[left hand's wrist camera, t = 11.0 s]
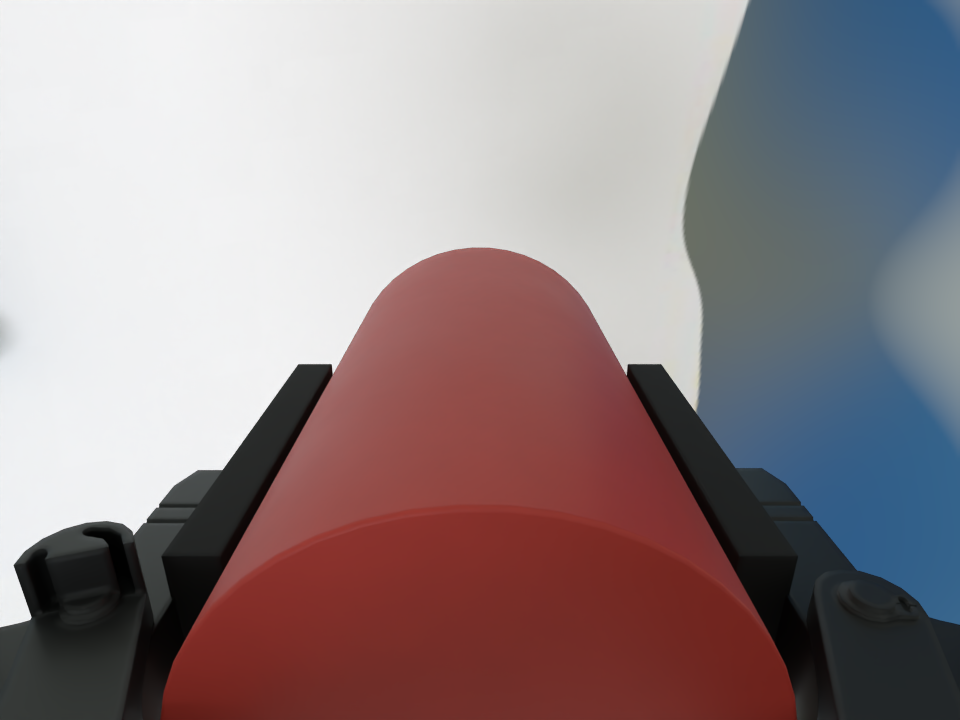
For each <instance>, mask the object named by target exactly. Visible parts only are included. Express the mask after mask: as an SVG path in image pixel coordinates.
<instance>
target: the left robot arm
mask: <svg viewBox="0 0 960 720" xmlns="http://www.w3.org/2000/svg"><path fill="white" fill-rule="evenodd" d="M332 376H333V373H332V364H298V366H297V367H296V368H295V370H294V371H293V373H292V374H291V375H290V377H289V378H288V380H287V381H286V382H285V384H284V385H283V387H282V388H281V389H280V391H279V392H278V394H277V395H276V396H275V398H274V399H273V401H272V402H271V403H270V405H269V406H268V408H267V409H266V410H265V412H264V413H263V415H262V416H261V417H260V419H259V420H258V422H257V423H256V424H255V426H254V427H253V429H252V430H251V431H250V433H249V434H248V436H247V437H246V438H245V440H244V441H243V443H242V444H241V445H240V447H239V448H238V450H237V451H236V452H235V454H234V455H233V457H232V458H231V459H230V461H229V462H228V463H227V465H226V466H225V468H224V469H223V470H198V471H196V472H195V473H193V474H192V475H190V476H189V477H187V478H186V479H184V480H182V481H181V482H179V483H178V484H176V485H175V486H174V487H173V488H172V489H171V490H170V492H169V493H168V494H167V495H166V497H165V498H164V499H163V500H162V501H161V503H160V504H159V508H156V509H155V510H154V511H153V513H152V514H151V515H150V516H149V517H148V519H147V523H144V524H143V525H142V526H141V527H140V528H139V530H138V531H137V532H136V533H135V535H134V536H133V532H132V531H131V530H130V529H129V528H127V527H126V526H125V525H123V524H120V523H114V522H109V521H103V522H91V523H84V524H81V525H77V526H73V527H70V528H66V529H63V530H61V531H59V532H57V533H54V534H52V535H50V536H48V537H46V538H43V539H42V540H40V541H39V542H37V543H36V544H35V545H33V546H32V547H30V548H29V549H28V550H26V551H25V552H24V553H23V554H22V556H21V557H20V558H19V559H18V560H17V562H16V563H15V564H14V568H15V571H16V573H17V576H18V579H19V582H20V585H21V588H22V591H23V594H24V596H25V599H26V602H27V605H28V608H29V611H30V614H31V617H32V618H31V620H29V621H26V622H22V623H18V624H14V625H9V626H5V627H0V720H160V718H161V710H162V701H163V693H164V689H165V686H166V683H167V680H168V677H169V674H170V671H171V667H172V664H173V661H174V660H175V658H176V656H177V654H178V652H179V650H180V649H181V647H182V645H183V643H184V641H185V639H186V637H187V636H188V634H189V632H190V630H191V628H192V627H193V625H194V623H195V621H196V619H197V618H198V616H199V614H200V612H201V610H202V609H203V607H204V605H205V603H206V601H207V600H208V598H209V596H210V594H211V593H212V591H213V589H214V587H215V585H216V584H217V582H218V580H219V578H220V576H221V575H222V573H223V571H224V569H225V567H226V566H227V564H228V562H229V560H230V558H231V557H232V555H233V553H234V551H235V550H236V548H237V546H238V544H239V542H240V541H241V539H242V537H243V535H244V533H245V532H246V530H247V528H248V526H249V524H250V523H251V521H252V519H253V517H254V515H255V514H256V512H257V510H258V508H259V507H260V505H261V503H262V501H263V499H264V498H265V496H266V494H267V492H268V490H269V489H270V487H271V485H272V483H273V481H274V480H275V478H276V476H277V474H278V472H279V471H280V469H281V467H282V465H283V463H284V462H285V460H286V458H287V456H288V455H289V453H290V451H291V449H292V447H293V446H294V444H295V442H296V440H297V438H298V437H299V435H300V433H301V431H302V429H303V428H304V426H305V424H306V422H307V420H308V419H309V417H310V415H311V413H312V412H313V410H314V408H315V406H316V404H317V403H318V401H319V399H320V397H321V395H322V394H323V392H324V390H325V388H326V386H327V385H328V383H329V381H330V379H331V377H332ZM627 378H628V379H629V381H630V383H631V385H632V387H633V388H634V390H635V392H636V394H637V396H638V398H639V399H640V401H641V403H642V405H643V407H644V408H645V410H646V412H647V414H648V416H649V417H650V419H651V421H652V423H653V425H654V426H655V428H656V430H657V432H658V434H659V435H660V437H661V439H662V441H663V443H664V444H665V446H666V448H667V450H668V452H669V453H670V455H671V457H672V459H673V461H674V462H675V464H676V466H677V468H678V470H679V472H680V473H681V475H682V477H683V479H684V481H685V482H686V484H687V486H688V488H689V490H690V491H691V493H692V495H693V497H694V499H695V500H696V502H697V504H698V506H699V508H700V509H701V511H702V513H703V515H704V517H705V518H706V520H707V522H708V524H709V526H710V527H711V529H712V531H713V533H714V535H715V536H716V538H717V540H718V542H719V544H720V546H721V547H722V549H723V551H724V553H725V555H726V556H727V558H728V560H729V562H730V564H731V565H732V567H733V569H734V571H735V573H736V574H737V576H738V578H739V580H740V582H741V583H742V585H743V587H744V589H745V591H746V592H747V594H748V596H749V598H750V600H751V601H752V603H753V605H754V607H755V609H756V610H757V612H758V614H759V616H760V618H761V620H762V621H763V623H764V625H765V627H766V629H767V630H768V632H769V634H770V636H771V638H772V640H773V642H774V644H775V645H776V647H777V649H778V651H779V653H780V655H781V657H782V659H783V661H784V663H785V665H786V668H787V671H788V674H789V678H790V681H791V685H792V688H793V691H794V695H795V703H796V713H797V720H960V625H958V624H954V623H949V622H945V621H940V620H936V619H933V618H930V617H928V615H927V614H926V612H925V611H924V609H923V608H922V606H921V605H920V603H919V602H918V601H917V600H915V599H914V598H913V597H912V596H910V595H909V594H908V593H907V592H906V591H904V590H903V589H902V588H900V587H898V586H896V585H894V584H892V583H891V582H889V581H887V580H885V579H883V578H881V577H877V576H874V575H871V574H868V573H864V572H861V571H857V570H856V569H855V568H854V566H853V565H852V564H851V563H850V562H849V560H848V559H847V558H846V557H845V555H844V554H843V553H842V552H841V551H840V549H839V548H838V547H837V546H836V544H835V543H834V542H833V541H832V540H831V538H830V537H829V536H828V535H827V534H826V532H825V531H824V530H823V529H822V527H821V526H820V525H819V524H818V523H817V521H813V517H812V515H811V514H810V513H809V512H808V510H807V509H806V508H805V507H804V506H801V502H800V501H799V499H798V498H797V497H796V496H795V495H794V493H793V492H792V491H791V490H790V488H789V487H788V486H787V485H786V484H785V483H784V482H782V481H781V480H779V479H777V478H776V477H774V476H773V475H771V474H770V473H768V472H767V471H765V470H764V469H762V468H735V467H734V465H733V464H732V463H731V461H730V460H729V458H728V457H727V456H726V454H725V453H724V452H723V450H722V449H721V447H720V446H719V445H718V443H717V442H716V440H715V439H714V438H713V436H712V435H711V433H710V432H709V431H708V429H707V428H706V426H705V425H704V424H703V422H702V421H701V419H700V418H699V417H698V415H697V414H696V412H695V411H694V410H693V408H692V407H691V405H690V404H689V403H688V401H687V400H686V398H685V397H684V396H683V394H682V393H681V391H680V390H679V389H678V387H677V386H676V384H675V383H674V382H673V380H672V379H671V377H670V376H669V375H668V373H667V372H666V370H665V369H664V368H663V366H662V365H661V364H628V369H627Z"/></svg>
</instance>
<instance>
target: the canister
mask: <svg viewBox="0 0 960 720" xmlns="http://www.w3.org/2000/svg"><path fill="white" fill-rule="evenodd" d="M160 720H797V713H796V703H795V695H794V691H793V688H792V685H791V681H790V678H789V674H788V671H787V668H786V665H785V663H784V661H783V659H782V657H781V655H780V653H779V651H778V649H777V647H776V645H775V644H774V642H773V640H772V638H771V636H770V634H769V632H768V630H767V629H766V627H765V625H764V623H763V621H762V620H761V618H760V616H759V614H758V612H757V610H756V609H755V607H754V605H753V603H752V601H751V600H750V598H749V596H748V594H747V592H746V591H745V589H744V587H743V585H742V583H741V582H740V580H739V578H738V576H737V574H736V573H735V571H734V569H733V567H732V565H731V564H730V562H729V560H728V558H727V556H726V555H725V553H724V551H723V549H722V547H721V546H720V544H719V542H718V540H717V538H716V536H715V535H714V533H713V531H712V529H711V527H710V526H709V524H708V522H707V520H706V518H705V517H704V515H703V513H702V511H701V509H700V508H699V506H698V504H697V502H696V500H695V499H694V497H693V495H692V493H691V491H690V490H689V488H688V486H687V484H686V482H685V481H684V479H683V477H682V475H681V473H680V472H679V470H678V468H677V466H676V464H675V462H674V461H673V459H672V457H671V455H670V453H669V452H668V450H667V448H666V446H665V444H664V443H663V441H662V439H661V437H660V435H659V434H658V432H657V430H656V428H655V426H654V425H653V423H652V421H651V419H650V417H649V416H648V414H647V412H646V410H645V408H644V407H643V405H642V403H641V401H640V399H639V398H638V396H637V394H636V392H635V390H634V388H633V387H632V385H631V383H630V381H629V379H628V378H627V376H626V374H625V372H624V370H623V369H622V367H621V365H620V363H619V361H618V360H617V358H616V356H615V354H614V352H613V351H612V349H611V347H610V345H609V343H608V342H607V340H606V338H605V336H604V334H603V333H602V331H601V329H600V327H599V325H598V324H597V322H596V320H595V318H594V316H593V314H592V313H591V311H590V309H589V307H588V306H587V304H586V303H585V301H584V300H583V299H582V297H581V296H580V294H579V293H578V292H577V291H576V290H575V289H574V288H573V287H572V286H571V284H570V283H569V282H568V281H567V280H565V279H564V278H563V277H562V276H560V275H559V274H558V273H557V272H555V271H554V270H552V269H551V268H549V267H547V266H546V265H544V264H542V263H541V262H539V261H537V260H534V259H532V258H530V257H527V256H525V255H522V254H518V253H515V252H511V251H507V250H501V249H494V248H466V249H457V250H452V251H448V252H444V253H440V254H437V255H434V256H432V257H430V258H427V259H425V260H422V261H420V262H419V263H417V264H415V265H413V266H412V267H410V268H408V269H406V270H405V271H404V272H403V273H401V274H400V275H399V276H397V277H396V278H395V279H393V281H392V282H391V283H390V284H389V285H388V286H387V287H386V288H385V289H384V290H383V291H382V292H381V293H380V295H379V296H378V297H377V299H376V300H375V301H374V303H373V304H372V306H371V308H370V309H369V311H368V313H367V315H366V317H365V318H364V320H363V322H362V324H361V325H360V327H359V329H358V331H357V333H356V334H355V336H354V338H353V340H352V342H351V343H350V345H349V347H348V349H347V351H346V352H345V354H344V356H343V358H342V360H341V361H340V363H339V365H338V367H337V369H336V370H335V372H334V374H333V376H332V377H331V379H330V381H329V383H328V385H327V386H326V388H325V390H324V392H323V394H322V395H321V397H320V399H319V401H318V403H317V404H316V406H315V408H314V410H313V412H312V413H311V415H310V417H309V419H308V420H307V422H306V424H305V426H304V428H303V429H302V431H301V433H300V435H299V437H298V438H297V440H296V442H295V444H294V446H293V447H292V449H291V451H290V453H289V455H288V456H287V458H286V460H285V462H284V463H283V465H282V467H281V469H280V471H279V472H278V474H277V476H276V478H275V480H274V481H273V483H272V485H271V487H270V489H269V490H268V492H267V494H266V496H265V498H264V499H263V501H262V503H261V505H260V507H259V508H258V510H257V512H256V514H255V515H254V517H253V519H252V521H251V523H250V524H249V526H248V528H247V530H246V532H245V533H244V535H243V537H242V539H241V541H240V542H239V544H238V546H237V548H236V550H235V551H234V553H233V555H232V557H231V558H230V560H229V562H228V564H227V566H226V567H225V569H224V571H223V573H222V575H221V576H220V578H219V580H218V582H217V584H216V585H215V587H214V589H213V591H212V593H211V594H210V596H209V598H208V600H207V601H206V603H205V605H204V607H203V609H202V610H201V612H200V614H199V616H198V618H197V619H196V621H195V623H194V625H193V627H192V628H191V630H190V632H189V634H188V636H187V637H186V639H185V641H184V643H183V645H182V647H181V649H180V650H179V652H178V654H177V656H176V658H175V660H174V661H173V664H172V667H171V671H170V674H169V677H168V680H167V683H166V686H165V689H164V693H163V701H162V710H161V718H160Z"/></svg>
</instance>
